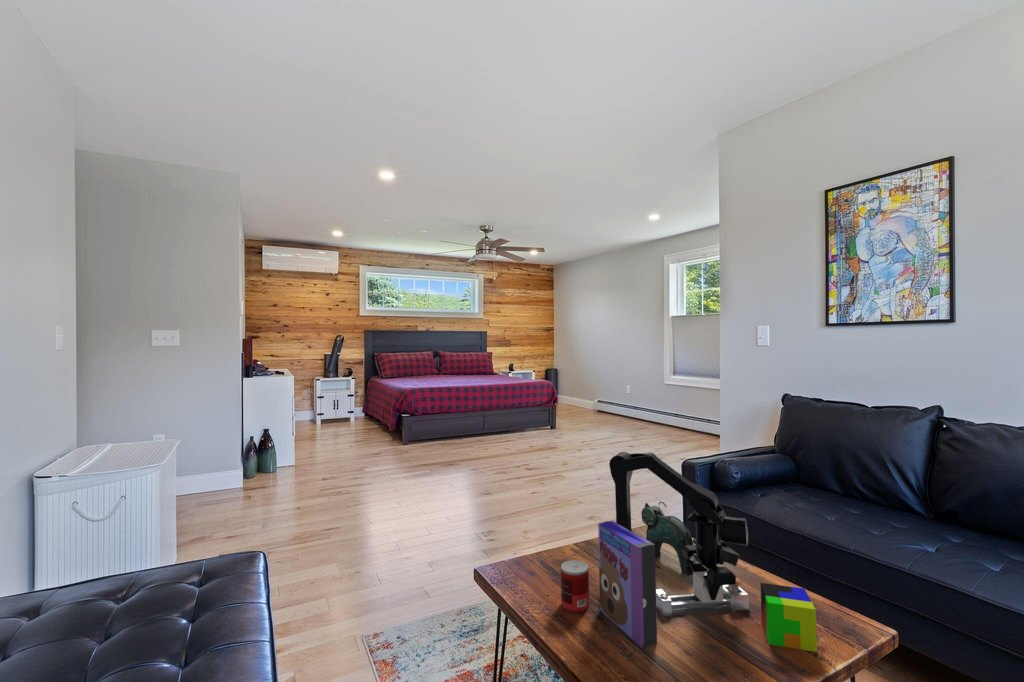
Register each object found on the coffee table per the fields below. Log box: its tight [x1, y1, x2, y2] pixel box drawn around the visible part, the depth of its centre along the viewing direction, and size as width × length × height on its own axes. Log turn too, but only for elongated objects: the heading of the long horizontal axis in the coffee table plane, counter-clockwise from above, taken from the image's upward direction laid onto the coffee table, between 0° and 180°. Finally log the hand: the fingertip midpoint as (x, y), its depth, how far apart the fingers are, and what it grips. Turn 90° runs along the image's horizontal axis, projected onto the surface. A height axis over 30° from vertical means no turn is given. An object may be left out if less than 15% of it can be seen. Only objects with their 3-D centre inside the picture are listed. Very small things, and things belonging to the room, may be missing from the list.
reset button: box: [728, 577, 741, 593], centre depth 130 cm, size 4×4×5 cm
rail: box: [656, 585, 750, 617], centre depth 129 cm, size 24×6×4 cm, turn 96°
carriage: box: [692, 570, 723, 603], centre depth 129 cm, size 6×5×6 cm
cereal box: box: [597, 520, 658, 648], centre depth 120 cm, size 17×5×24 cm, turn 23°
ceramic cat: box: [641, 501, 694, 577], centre depth 155 cm, size 20×6×20 cm, turn 28°
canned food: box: [560, 559, 590, 614], centre depth 130 cm, size 8×8×11 cm
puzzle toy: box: [760, 582, 818, 653], centre depth 115 cm, size 10×10×10 cm
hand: (708, 594), depth 129 cm, fingers closed on carriage, 5 cm apart
